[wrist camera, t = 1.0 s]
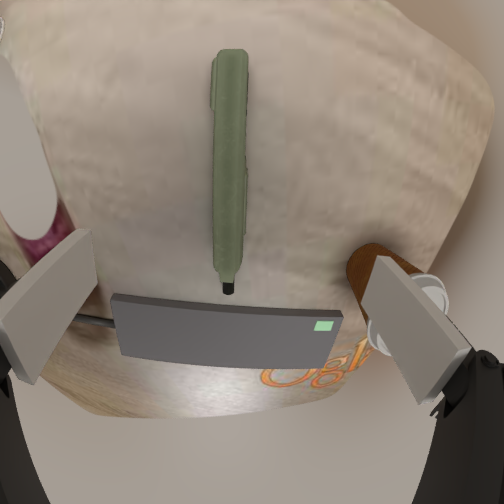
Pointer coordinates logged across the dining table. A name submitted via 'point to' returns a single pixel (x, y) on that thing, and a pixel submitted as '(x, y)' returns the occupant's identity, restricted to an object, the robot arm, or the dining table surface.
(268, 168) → the dining table surface
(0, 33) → the decorative candle
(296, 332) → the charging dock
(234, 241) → the handheld radio
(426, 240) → the dining table surface
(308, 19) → the dining table surface
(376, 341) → the disposable coffee cup
